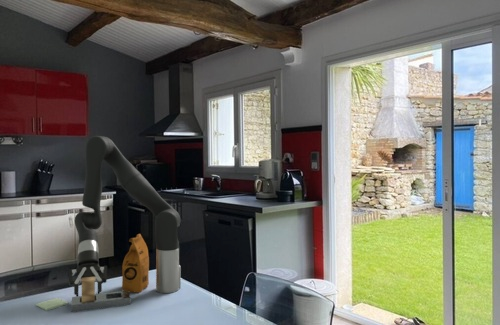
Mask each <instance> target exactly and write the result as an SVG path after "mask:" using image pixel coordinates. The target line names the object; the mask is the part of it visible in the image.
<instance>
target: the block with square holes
mask: <svg viewBox="0 0 500 325" xmlns="http://www.w3.org/2000/svg"><path fill="white" fill-rule="evenodd" d="M128 305H129V306H130V305H131V295H130V292H128V290H127V291H123V290H119V291H112V292H105V293H104V292H103V293H101V292H100V294H98V293H95V301H88V302H82V295H78V296H76V295H75V296H72V297H71V305H70V308H71V311H70V312H71V313H75V312H77V313H78V312H84V311H91V310H99V309H106V308H107V309H108V308H114V307H115V308H116V307H120V306H121V307H123V306H128Z"/></svg>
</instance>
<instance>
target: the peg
mask: <svg viewBox="0 0 500 325" xmlns="http://www.w3.org/2000/svg"><path fill="white" fill-rule="evenodd" d="M95 284H96V281H95V276H94V277H84V278H82V281H81V296H82V302H88V301H95V294H96V292H95V291H96V285H95Z"/></svg>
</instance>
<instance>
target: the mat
mask: <svg viewBox="0 0 500 325" xmlns="http://www.w3.org/2000/svg"><path fill="white" fill-rule="evenodd" d="M66 305H69V302H68V301H66V300H63V299H61V298H60V297H56V298H51V299H49V300H45V301H42V302H39V303H35V306H36V307H37V308H40V309H42V310H45V311H50V310H54V309H56V308H60V307H63V306H66Z"/></svg>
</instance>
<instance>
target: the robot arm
mask: <svg viewBox="0 0 500 325" xmlns="http://www.w3.org/2000/svg"><path fill="white" fill-rule="evenodd" d="M85 144H86V145H85V179H84V180H85V182H84V189H83V193H82V194H83V195H82V201H81V204H82V206H83V207H85V208H89V209H92V210H93V212H88V211H81V212H78V213H77V214H76V215H75V217H74V225H75V229H76V232H77V235H78V247H77V267H76V269H72V268H68V270H67V271H68V286H69V287H73V289H74V290H73V294H74V296H75V297H76V296H79V288H80V287H79V285H81V284H82V278H84V277H94V276H95V283H97V294H101V292H102V291H103V288H102V287H103V286H102V284H105V283H107V281H108V280H107V279H108V265H104V266H100V263H99V262H100V260H99V259H100V258H99V254H100V253H99V244H98V239H99V238H98V236H99V235H98V232H97V231H96V230H99V228H101V226H102V223H103V219H102V213H101V200H102V199H101V198H102V192H103V179H102V164H103V161H104V162H105V163H106V164H107V165H108V166H109V167H110V168H111V169H112V171H113V172H114V174H115V177H116V178H117V181H118V183H119V184H120V187H122V189H123V190H125V192H126V193H127V194H128V195H129V196H130V197H131V198H133V199H134V200H135V201H136V202H138V203H139V204H141V205H143V206H144V207H146V208H147V209H148V210H149V212H151V213H152V214H153V215H154V217H155V220H154V240H155V241H154V242H155V245H156V248H155V249H156V250H155V251H156V253H155V254H156V255H155V256H156V261H155V262H156V265H155V270H156V273H155V278H156V279H155V287H156V288H155V291H156V292H158V293H159V294H170V293H175V292H177V291H179V289H181V283H182V282H181V281H182V280H181V279H182V278H181V274H182V273H181V271H182V268H181V265H180V241H179V239H178V227H180V224H181V221H182V220H181V216H180V214H179V212H178V211H177V210H176V209H175V208H174V207H173V206H172V205H170V204H169V203H168V202H167V201H166V200H164V199H163V197H161V195H160V194H159V193H158V191H156V189H155V188H154V187H153V186H152V185H151V183H150V182H149V181H148V180H147V178H145V176H144V175H143V174H142V173H141V172H140V171H139V170H138V169H137V168H136V167H135V166H134V165H133V164H132V163H131V162H130V161H129V160H128V159H127V158H126V157H125V156H124V155H123V153H122V152H121V151H120V149H119V148H118V147H117V145H116V143H114V142H113V140H112V139H110V138H109V137H107V136H103V135H102V136H101V135H94V136H91V137H89V138H88V140H87V141H86V143H85ZM100 271H101V273H102V274H103V276H102V277H100V275H99V272H100ZM76 274H77V278H76V279H75V280H74V279H73V276H75V275H76Z"/></svg>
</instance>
